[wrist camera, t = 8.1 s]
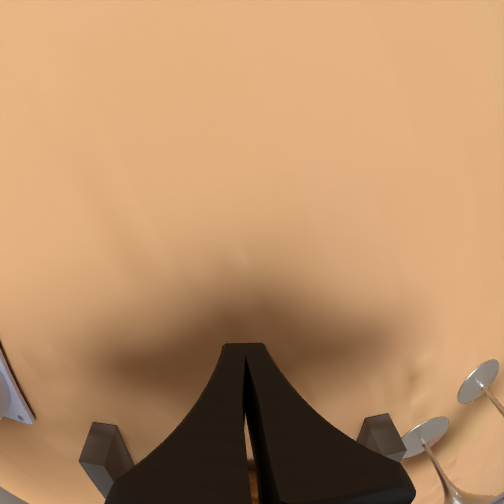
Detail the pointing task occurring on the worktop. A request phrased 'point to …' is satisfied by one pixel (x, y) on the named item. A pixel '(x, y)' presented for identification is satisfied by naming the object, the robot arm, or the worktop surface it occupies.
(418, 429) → the goblet set
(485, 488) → the worktop surface
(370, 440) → the walnut shelf
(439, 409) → the worktop surface
